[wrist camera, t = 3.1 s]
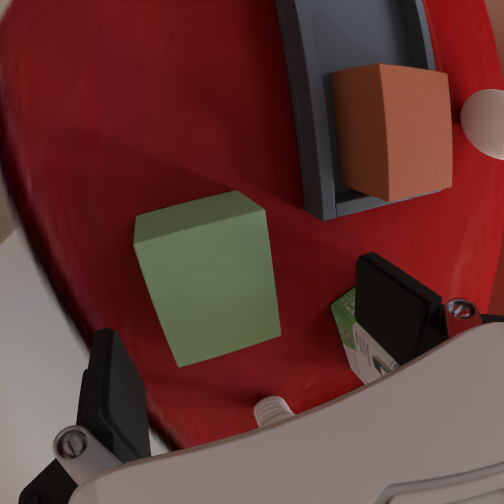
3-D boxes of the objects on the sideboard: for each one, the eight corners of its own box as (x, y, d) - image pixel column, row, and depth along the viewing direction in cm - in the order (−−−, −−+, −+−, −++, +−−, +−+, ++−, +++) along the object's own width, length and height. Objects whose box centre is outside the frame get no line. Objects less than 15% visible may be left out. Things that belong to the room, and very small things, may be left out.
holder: (304, 211, 17) (323, 221, 15) (258, -71, 10) (271, -88, 8) (419, 184, 19) (441, 191, 18) (386, -44, 12) (406, -52, 10)
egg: (482, 139, 20) (553, 157, 14) (453, 159, 20) (534, 182, 13) (471, 81, 18) (547, 89, 11) (439, 94, 17) (528, 103, 11)
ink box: (326, 302, 20) (448, 426, 10) (382, 265, 21) (512, 357, 11) (350, 371, 24) (432, 468, 14) (394, 338, 25) (483, 421, 15)
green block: (169, 321, 17) (178, 368, 14) (135, 215, 14) (132, 243, 11) (254, 296, 18) (281, 335, 15) (236, 189, 16) (265, 209, 12)
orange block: (341, 185, 17) (388, 203, 13) (329, 72, 14) (378, 63, 10) (405, 173, 18) (452, 187, 14) (398, 75, 15) (447, 73, 12)
